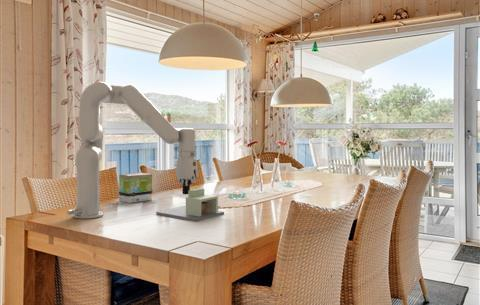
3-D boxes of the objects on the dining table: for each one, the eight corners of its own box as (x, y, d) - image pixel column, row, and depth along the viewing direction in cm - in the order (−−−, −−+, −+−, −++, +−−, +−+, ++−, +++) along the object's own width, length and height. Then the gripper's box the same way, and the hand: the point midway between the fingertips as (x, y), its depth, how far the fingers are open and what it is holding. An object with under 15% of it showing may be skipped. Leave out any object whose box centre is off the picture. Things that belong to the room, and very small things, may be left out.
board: (196, 221, 176) (196, 209, 176) (156, 214, 190) (156, 203, 189) (224, 214, 193) (224, 203, 192) (185, 208, 206) (185, 197, 206)
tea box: (130, 203, 216) (130, 175, 215) (118, 201, 222) (118, 174, 221) (152, 200, 228) (152, 173, 227) (140, 198, 234) (140, 172, 233)
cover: (199, 216, 180) (199, 192, 179) (185, 214, 184) (185, 190, 183) (217, 211, 191) (218, 189, 190) (204, 209, 195) (204, 187, 194)
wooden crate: (201, 215, 184) (201, 204, 183) (191, 213, 187) (191, 202, 187) (209, 213, 189) (209, 202, 188) (199, 211, 192) (199, 201, 192)
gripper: (204, 155, 190) (203, 194, 191) (180, 153, 198) (179, 191, 199) (193, 156, 184) (192, 196, 185) (169, 154, 192) (168, 193, 193)
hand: (186, 193), depth 192 cm, fingers closed
